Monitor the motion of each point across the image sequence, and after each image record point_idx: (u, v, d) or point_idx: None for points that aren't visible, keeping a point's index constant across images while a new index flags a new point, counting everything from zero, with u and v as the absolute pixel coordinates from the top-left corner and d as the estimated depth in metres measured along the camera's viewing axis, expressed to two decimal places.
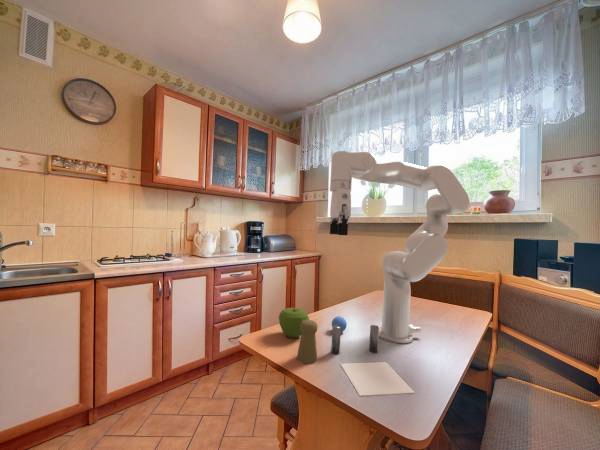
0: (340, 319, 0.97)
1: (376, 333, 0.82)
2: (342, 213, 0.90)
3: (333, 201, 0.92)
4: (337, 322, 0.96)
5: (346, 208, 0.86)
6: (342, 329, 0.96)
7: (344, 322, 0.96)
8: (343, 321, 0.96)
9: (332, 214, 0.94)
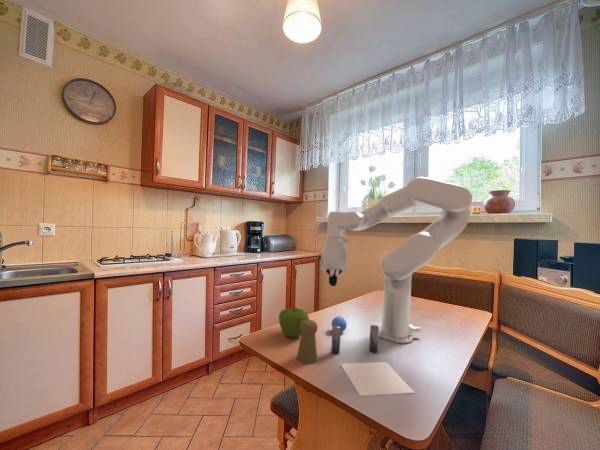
0: (340, 319, 0.97)
1: (376, 333, 0.82)
2: None
3: (337, 255, 1.05)
4: (337, 322, 0.96)
5: None
6: (342, 329, 0.96)
7: (344, 322, 0.96)
8: (343, 321, 0.96)
9: (332, 266, 1.05)
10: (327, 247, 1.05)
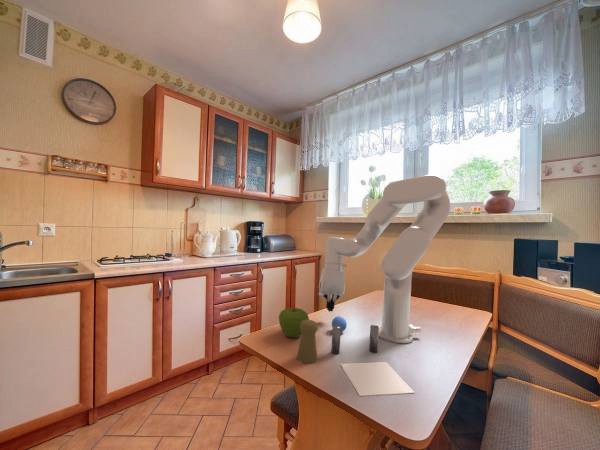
0: (340, 319, 0.97)
1: (376, 333, 0.82)
2: None
3: (335, 280, 1.05)
4: (337, 322, 0.96)
5: None
6: (342, 329, 0.96)
7: (344, 322, 0.96)
8: (343, 321, 0.96)
9: (330, 291, 1.06)
10: (325, 273, 1.05)
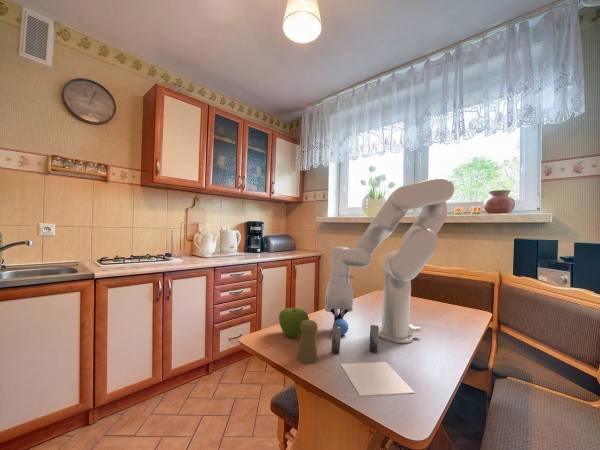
0: (342, 327, 0.93)
1: (376, 333, 0.82)
2: None
3: (342, 294, 0.98)
4: None
5: None
6: (343, 334, 0.94)
7: (346, 329, 0.94)
8: (345, 328, 0.93)
9: (337, 306, 0.98)
10: (331, 286, 0.98)
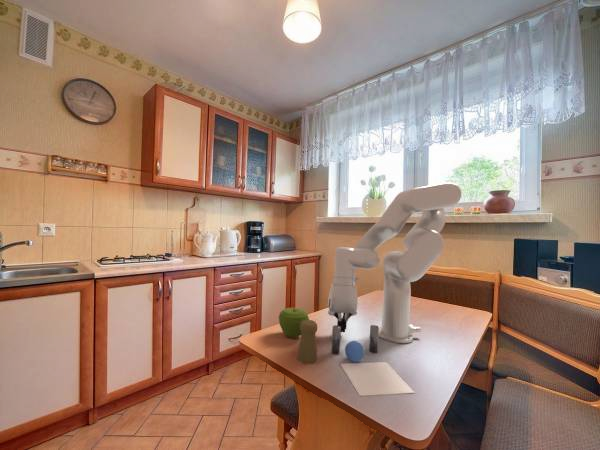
0: (357, 356, 0.74)
1: (376, 333, 0.82)
2: None
3: (346, 297, 0.93)
4: (352, 359, 0.75)
5: None
6: None
7: (361, 358, 0.75)
8: (360, 358, 0.75)
9: (341, 309, 0.93)
10: (335, 289, 0.93)
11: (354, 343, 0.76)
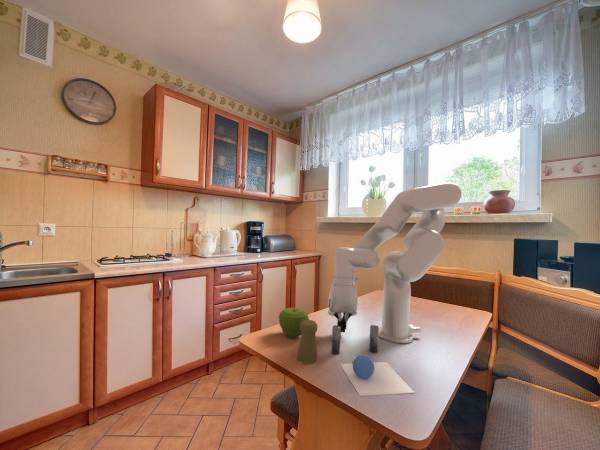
0: None
1: (376, 333, 0.82)
2: None
3: (346, 297, 0.93)
4: None
5: None
6: None
7: None
8: None
9: (341, 309, 0.93)
10: (335, 289, 0.93)
11: None
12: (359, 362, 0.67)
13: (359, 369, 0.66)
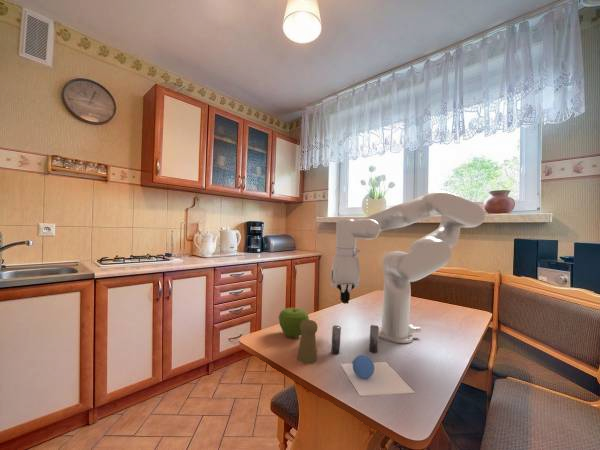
0: None
1: (376, 333, 0.82)
2: None
3: (348, 268, 0.93)
4: None
5: None
6: None
7: None
8: None
9: (344, 280, 0.93)
10: (337, 260, 0.93)
11: None
12: (359, 362, 0.67)
13: (359, 369, 0.66)
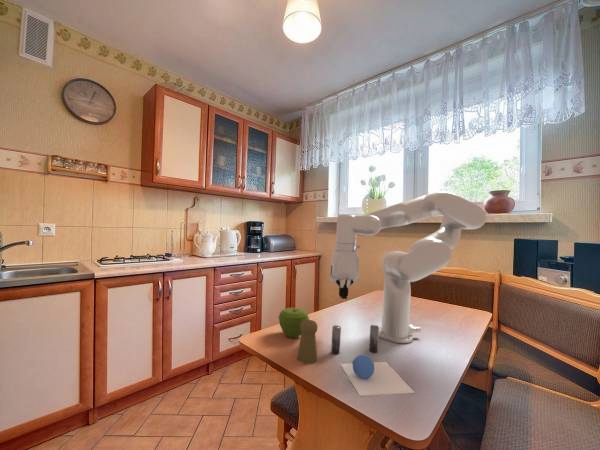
0: None
1: (376, 333, 0.82)
2: None
3: (348, 263, 0.93)
4: None
5: None
6: None
7: None
8: None
9: (343, 276, 0.93)
10: (337, 255, 0.93)
11: None
12: (359, 362, 0.67)
13: (359, 369, 0.66)
